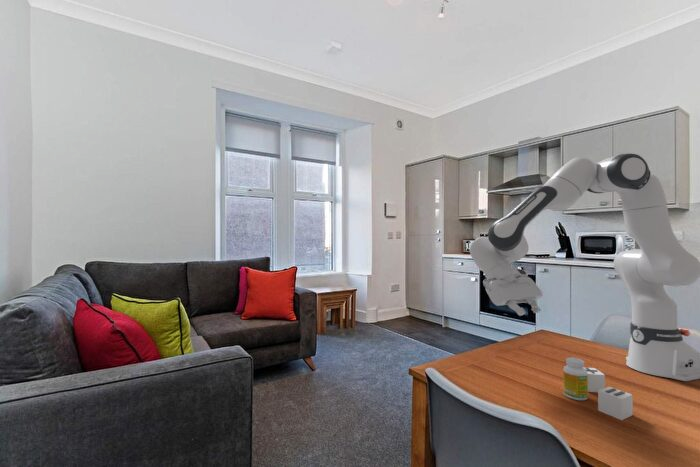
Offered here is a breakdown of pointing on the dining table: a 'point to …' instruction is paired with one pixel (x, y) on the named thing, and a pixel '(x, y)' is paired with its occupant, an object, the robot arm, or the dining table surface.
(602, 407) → the marked block front
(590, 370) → the marked block back
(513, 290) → the robot arm
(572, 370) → the supplement bottle
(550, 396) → the dining table surface
